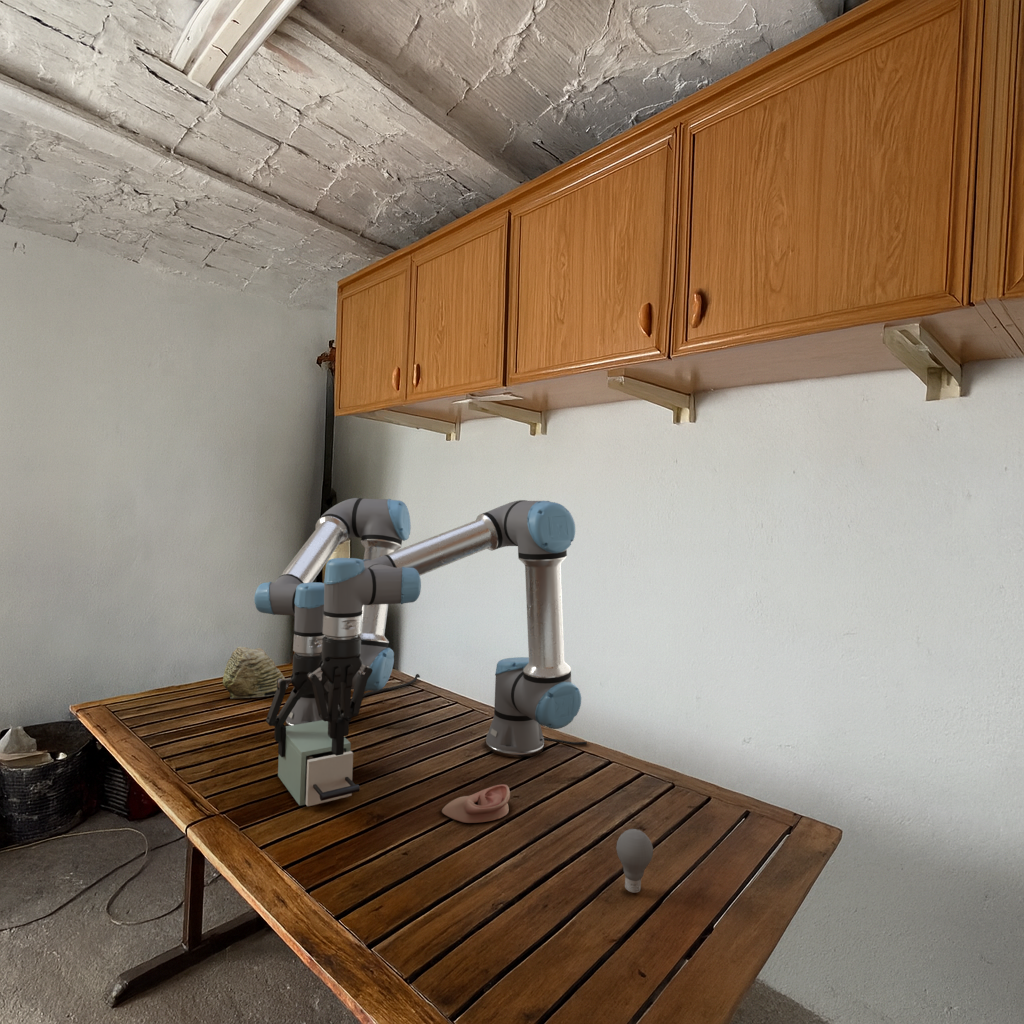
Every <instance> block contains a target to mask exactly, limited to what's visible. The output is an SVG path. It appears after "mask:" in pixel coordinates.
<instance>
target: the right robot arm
mask: <svg viewBox="0 0 1024 1024" xmlns="http://www.w3.org/2000/svg"><path fill="white" fill-rule="evenodd" d="M575 537H576V523H575V519H574V517H573V515H572V513H571V512H570V511H569V509H567V508H566V506H564V505H562V504H561V503H558V502H555V501H554V502H553V501H550V500H526V499H519V500H515V501H514V500H513V501H511V502H507V503H505V504H503V505H500V506H498V507H495V508H493V509H491V510H488V511H485V512H482V513H480V514H479V515H477V517H476V519H475V520H473V521H470V522H468V523H466V524H462V525H460V526H458V527H454V528H452V529H450V530H447V531H444V532H442V533H439V534H435V535H434V536H431V537H428V538H425V539H423V540H420V541H418V542H415V543H413V544H410V545H408V546H404V547H401V548H400V549H398V550H397V551H394V552H391V553H389V554H387V555H384V556H381V557H378V558H375V559H373V560H370V559H365V560H364V559H362V558H356V557H335V558H331V559H330V558H329V559H328V561H327V562H326V563H325V570H324V572H325V573H324V580H323V583H324V615H323V634H324V635H325V636H324V638H323V639H322V660H321V662H320V664H319V668H318V669H317V670H315V671H314V672H313V673H312V672H309V673H308V674H307V677H308V678H309V680H310V681H311V683H312V686H313V691H314V695H315V700H316V705H317V710H318V714H319V717H320V718H321V719H322V720H323V721H328V736H329V737H330V738H331V739H332V750H331V751H332V752H333V753H334V754H335V755H336V756H338V755H342V754H343V752H344V737H347V736H348V735H349V729H350V722H351V721H352V718H353V717H358V715H359V713H360V709H361V706H362V702H363V698H364V697H363V695H364V693H365V692H366V691H365V687H366V684H367V680H368V678H369V677H370V675H371V673H372V671H373V670H372V669H371V668H370V667H368V666H366V665H363V664H362V660H361V658H360V653H361V637H360V636H359V634H361V628H362V607H363V605H376V604H388V605H404V604H410V603H415V602H417V600H418V599H419V597H420V595H421V592H422V581H421V580H422V579H421V576H423V575H425V574H428V573H430V572H433V571H435V570H438V569H440V568H443V567H445V566H448V565H450V564H453V563H456V562H458V561H461V560H463V559H465V558H468V557H470V556H473V555H475V554H477V553H481V552H483V551H485V550H489V551H493V552H494V551H496V550H498V549H501V548H505V547H517V557H518V558H517V559H518V560H519V561H520V562H521V563H522V564H523V565H524V572H525V594H526V595H525V598H526V600H525V601H526V624H527V649H528V657H526V656H525V657H524V656H523V657H522V656H521V657H520V656H519V657H518V656H517V657H516V656H515V657H507V658H503V659H500V660H499V661H498V662H497V663H496V667H495V673H494V674H495V675H494V676H495V680H494V681H495V682H494V683H495V684H494V706H493V707H494V709H493V712H494V713H493V718H492V720H491V724H490V726H489V729H488V732H487V734H486V737H485V747H486V748H487V750H488V751H489V752H491V753H493V754H495V755H498V756H502V757H505V758H506V757H507V758H516V759H518V758H519V759H521V758H530V757H534V756H537V755H539V754H541V753H542V752H543V751H544V750H545V741H546V742H552V743H553V742H554V743H559V744H563V745H564V744H565V745H572V746H583V745H584V746H585V745H586V746H587V745H588V742H587V741H567V740H563V739H557V738H550V737H544V735H543V731H542V727H545V728H548V729H553V730H559V729H562V728H565V727H567V726H568V725H569V724H571V723H572V722H573V721H574V719H575V717H576V716H578V713H580V712H579V711H580V709H581V706H582V693H581V690H580V688H579V687H578V686H577V685H576V684H575V683H573V682H572V667H571V666H570V665H569V664H568V663H567V662H566V661H565V644H564V643H565V642H564V639H565V638H564V616H563V615H564V614H563V612H564V611H563V590H562V589H563V587H562V563H563V562H564V561H565V560H566V559H567V557H568V553H567V552H568V551H567V550H568V549H569V548H570V547H571V545H572V542H574V540H575ZM357 672H358V677H357V680H356V684H355V688H354V689H353V692H352V689H351V687H352V679H353V678H354V676H355V675H356V673H357ZM322 673H323V674H324V676H325V677H326V678H327V680H328V686H329V693H328V711H327V706H326V701H325V697H324V692H323V687H322V684H321V682H320V681H321V680H322ZM340 683H341V703H340V716H341V718H338V697H339V688H340ZM541 726H542V727H541Z"/></svg>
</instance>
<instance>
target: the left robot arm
mask: <svg viewBox="0 0 1024 1024" xmlns="http://www.w3.org/2000/svg"><path fill="white" fill-rule="evenodd" d="M409 511H410V510H409V508H408V505H407V504H406V502H404V501H402V500H398V499H391V498H364V497H363V498H361V497H353V498H348V499H345V500H343V501H341V502H338V503H336V504H335V505H333V506H331V507H330V508H329V509H328V510H326V511H325V512H324V513H322V515H321V516H320V517H319V519H318V520H316V523H315V530H314V531H313V532H312V534H311V535H310V536H309V537H308V539H307V540H306V541H305V542H304V544H303V545H302V547H301V548H300V549H299V551H298V552H297V553H296V554H295V556H294V557H293V558H292V559H291V561H290V562H289V563H288V565H287V566H286V567H285V568H284V570H283V571H282V573H280V575H279V576H278V577H277V578H276V580H275V581H274V582H272V581H268V582H262V583H260V584H259V585H258V586H257V587H256V590H255V593H254V596H253V597H254V599H253V600H254V601H253V602H254V605H255V609H256V610H257V611H258V612H259V613H262V614H269V615H272V616H276V615H277V616H293V617H294V628H293V646H292V647H293V648H292V651H293V652H294V653H293V655H292V672H291V675H290V677H288V678H285V679H282V678H279V679H278V680H277V690H276V693H275V695H273V698H272V701H271V704H270V707H269V710H268V712H267V716H266V718H265V722H266V723H267V725H268V726H269V727H274V731H273V732H274V735H273V738H274V740H275V741H276V742H277V743H278V744H277V745H278V746H277V747H278V748H277V753H278V756H279V755H280V756H281V757H285V745H286V726H291V725H297V724H303V723H309V722H315V721H321V720H322V719H321V718H320V717H319V714H318V710H317V705H316V700H315V695H314V691H313V686H312V683H311V681H310V680H309V678H308V677H307V674H308V673H309V672H312V673H313V672H314V671H315V670H317V669H318V668H319V664H320V662H321V660H322V639H323V638H324V636H325V635H324V634H323V615H324V582H314V581H315V579H316V578H317V576H319V574H320V572H321V571H322V569H323V568H324V566H326V564H327V562H328V561H329V560H330V558H331V557H332V555H333V554H334V552H335V551H336V549H337V548H338V546H339V545H342V544H344V543H345V542H346V541H347V540H348V539H351V538H359V539H360V544H361V546H363V547H364V555H363V560H365V559H370V560H373V559H375V558H378V557H381V556H384V555H387V554H389V553H391V552H394V551H397V550H399V549H402V544H403V541H407V540H408V539H409V538H410V536H411V528H412V527H411V516H410V512H409ZM388 609H389V604H376V605H363V607H362V628H361V634H359V636H360V637H361V653H360V658H361V660H362V664H363V665H366V666H368V667H370V668H371V669H372V670H373V671H372V673H371V675H370V677H369V678H368V680H367V684H366V687H365V691H364V695H363V698H364V697H367V696H370V695H375V694H379V693H382V692H388V691H393V690H397V689H400V688H404V687H407V686H410V685H413V684H414V683H415V682H416V681H417V680H418V679H419V678H421V675H420V674H419V673H416V674H415V676H414V678H413V680H410V681H408V682H405V683H402V684H399V685H395V686H389V687H385V686H386V685H387V684H388V682H389V680H390V677H391V675H392V672H393V668H394V663H395V657H394V656H395V652H394V650H393V649H392V648H391V647H389V644H390V641H389V639H387V637H386V636H385V633H386V625H387V617H388V611H389V610H388ZM357 677H358V672H357V673H356V675H355V676H354V678H353V679H352V687H351V690H354V688H355V684H356V680H357ZM320 682H321V684H322V687H323V692H324V697H325V701H326V706H327V711H328V693H329V686H328V680H327V678H326V677H325V676H324V674H323V673H322V680H321V681H320ZM290 685H292V687H293V688H292V690H291V691H290V693H289V696H288V698H287V699H286V701H285V703H284V704H283V706H282V703H283V701H284V699H285V696H286V691H287V689H288V688H289V686H290ZM340 703H341V683H340V688H339V697H338V718H341V716H340ZM327 722H328V721H327Z"/></svg>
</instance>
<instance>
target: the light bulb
mask: <svg viewBox="0 0 1024 1024" xmlns="http://www.w3.org/2000/svg"><path fill="white" fill-rule="evenodd" d="M615 849H616V854H617V857H618V859H619V861H620V863H621V865H622V867H623V873H624V874H623V875H624V876H625V878H624V888H625V890H627V891H628V892H630V893H634V894H635V893H639V892H640V891H641V889H642V887H641V886H642V879H643V877H644V875H645V871H646V868H647V867H648V866H649V864H650V863H651V861H652V859H653V855H654V847H653V843H652V841H651V838H649V836H648V835H647V834H646V833H645V832H643V831H642V830H641V829H636V828H629V829H627V830H625V831H623V832H622V833H621V834H620V835H619V837H618V839H617V841H616V847H615Z"/></svg>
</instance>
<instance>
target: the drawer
mask: <svg viewBox="0 0 1024 1024" xmlns="http://www.w3.org/2000/svg"><path fill="white" fill-rule="evenodd" d="M353 763H354V752H353V751H352V750H351V751H349V752H343V754H342V755H338V756H336V755H335V754H334V753H333V752H332V751H329V752H324V753H319V754H314V755H309V756H306V775H305V795H306V804H305V805H306V807H311V806H317V805H319V804H324V803H328V802H331V801H336V800H339V799H344V798H349V797H352V795H353V794H355V793H359V792H360V789H361V788H360V785H359V783H357V784H355V783H354V781H353V772H354V771H353V769H354V767H353V766H354V764H353Z"/></svg>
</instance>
